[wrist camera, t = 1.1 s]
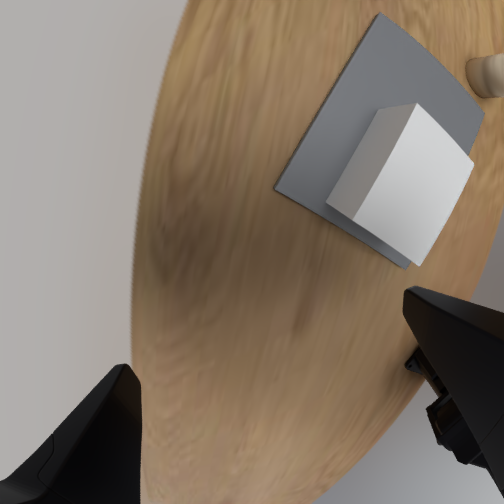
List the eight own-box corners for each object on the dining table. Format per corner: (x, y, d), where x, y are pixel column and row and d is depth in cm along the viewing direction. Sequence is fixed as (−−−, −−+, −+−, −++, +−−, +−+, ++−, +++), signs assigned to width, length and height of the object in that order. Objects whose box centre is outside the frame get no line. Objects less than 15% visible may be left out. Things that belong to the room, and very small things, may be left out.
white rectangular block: (432, 157, 18) (474, 164, 14) (385, 241, 21) (419, 266, 16) (378, 109, 17) (417, 103, 12) (325, 202, 19) (352, 220, 15)
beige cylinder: (493, 79, 16) (528, 77, 12) (485, 106, 17) (521, 106, 13) (470, 51, 15) (505, 44, 11) (461, 77, 17) (498, 72, 12)
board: (479, 113, 18) (484, 113, 17) (401, 266, 23) (405, 270, 22) (375, 15, 15) (380, 12, 14) (273, 187, 20) (274, 189, 19)
